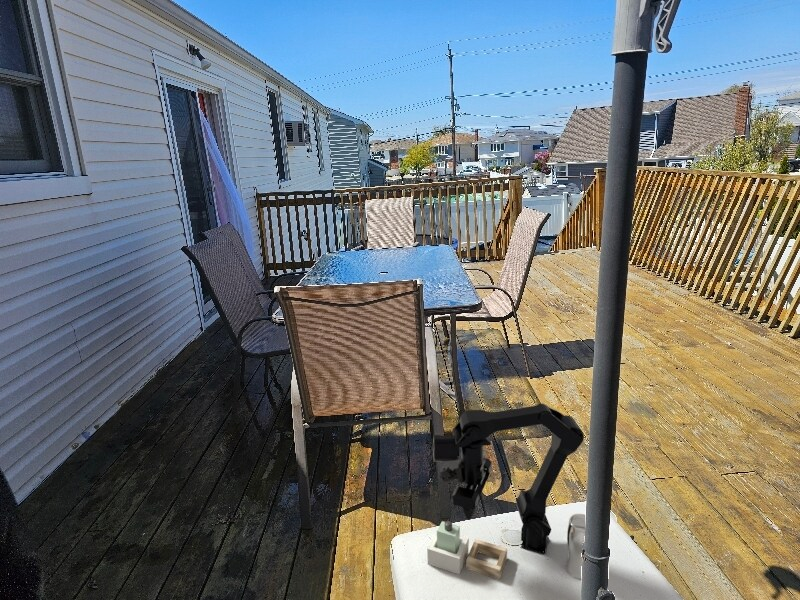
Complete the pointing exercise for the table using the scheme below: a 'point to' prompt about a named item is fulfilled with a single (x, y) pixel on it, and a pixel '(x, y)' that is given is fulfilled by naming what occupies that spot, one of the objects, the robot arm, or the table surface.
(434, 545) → the socket
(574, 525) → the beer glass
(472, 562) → the tan wooden frame
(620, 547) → the table surface
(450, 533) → the plug
